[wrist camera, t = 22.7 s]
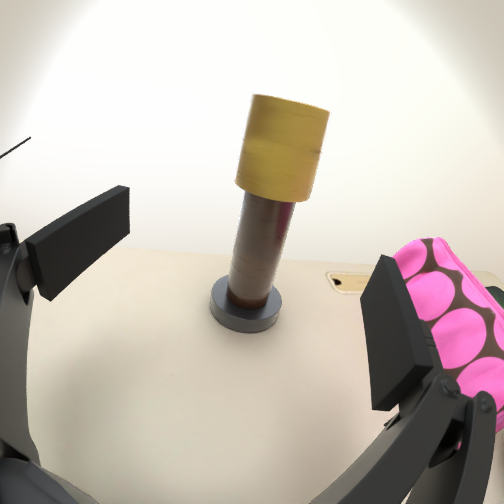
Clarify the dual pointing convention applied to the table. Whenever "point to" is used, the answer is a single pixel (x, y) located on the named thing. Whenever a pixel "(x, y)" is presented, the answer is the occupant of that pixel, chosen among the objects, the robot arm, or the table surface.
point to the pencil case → (457, 317)
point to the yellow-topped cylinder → (267, 205)
